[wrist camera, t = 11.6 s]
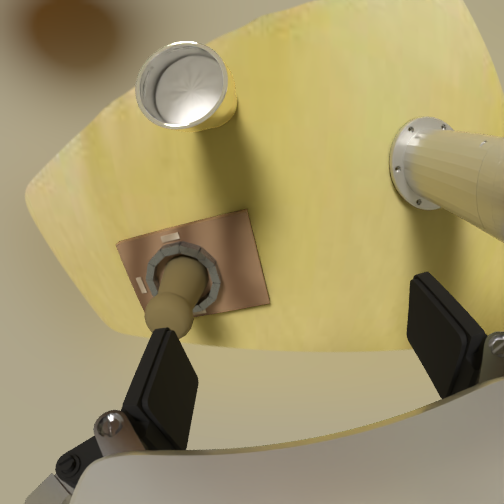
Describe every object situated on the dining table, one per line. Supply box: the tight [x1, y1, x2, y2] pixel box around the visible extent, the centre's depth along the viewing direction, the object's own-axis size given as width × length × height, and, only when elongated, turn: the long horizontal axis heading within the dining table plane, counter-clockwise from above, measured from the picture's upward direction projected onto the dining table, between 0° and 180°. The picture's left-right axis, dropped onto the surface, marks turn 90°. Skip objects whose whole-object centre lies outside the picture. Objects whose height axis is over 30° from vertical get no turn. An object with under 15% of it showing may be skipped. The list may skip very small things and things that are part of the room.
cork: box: [145, 255, 209, 339], centre depth 33 cm, size 6×6×11 cm
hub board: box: [116, 209, 270, 317], centre depth 38 cm, size 18×13×1 cm
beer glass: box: [135, 41, 237, 132], centre depth 24 cm, size 7×7×15 cm
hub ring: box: [146, 241, 222, 313], centre depth 37 cm, size 10×10×2 cm
